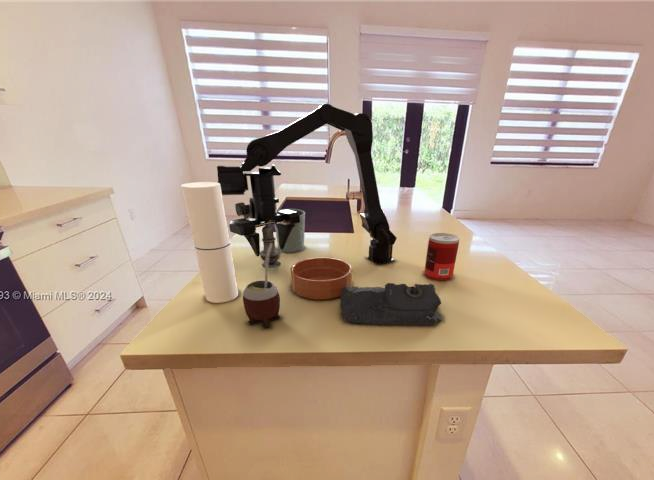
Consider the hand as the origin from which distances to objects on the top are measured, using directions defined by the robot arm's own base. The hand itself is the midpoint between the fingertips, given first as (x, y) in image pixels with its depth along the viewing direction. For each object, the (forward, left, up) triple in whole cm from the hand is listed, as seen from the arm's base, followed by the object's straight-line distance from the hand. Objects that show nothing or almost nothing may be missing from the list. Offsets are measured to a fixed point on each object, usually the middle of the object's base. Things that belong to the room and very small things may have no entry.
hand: (270, 252), depth 87 cm
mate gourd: (+9, +26, -5) cm, 28 cm away
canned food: (-40, +25, -5) cm, 47 cm away
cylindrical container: (+15, +11, -5) cm, 19 cm away
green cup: (-11, -14, -5) cm, 18 cm away
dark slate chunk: (-17, +33, -5) cm, 38 cm away
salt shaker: (0, 0, -4) cm, 4 cm away
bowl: (-8, +17, -5) cm, 19 cm away
